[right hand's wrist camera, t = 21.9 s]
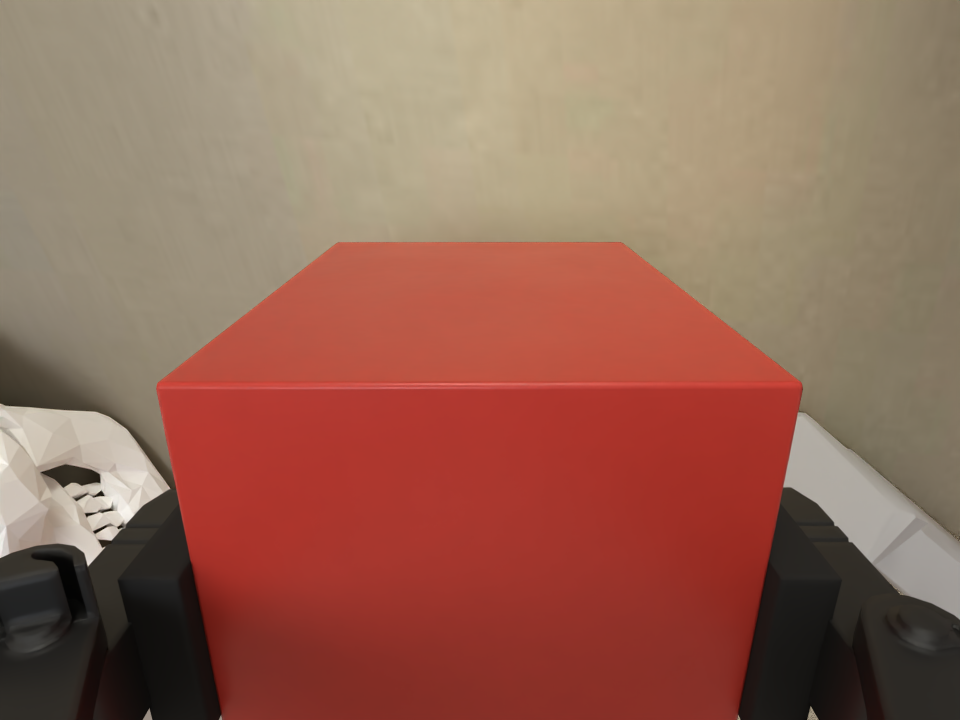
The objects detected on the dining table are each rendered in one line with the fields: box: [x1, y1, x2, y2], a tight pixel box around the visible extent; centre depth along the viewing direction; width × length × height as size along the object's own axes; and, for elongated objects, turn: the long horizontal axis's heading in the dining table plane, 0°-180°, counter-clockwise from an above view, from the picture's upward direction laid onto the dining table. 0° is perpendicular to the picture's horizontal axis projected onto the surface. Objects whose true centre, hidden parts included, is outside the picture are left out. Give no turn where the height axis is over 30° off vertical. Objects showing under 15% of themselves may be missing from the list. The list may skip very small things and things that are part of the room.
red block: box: [156, 242, 803, 720], centre depth 13 cm, size 8×8×10 cm
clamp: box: [783, 412, 960, 619], centre depth 30 cm, size 20×4×7 cm, turn 52°
